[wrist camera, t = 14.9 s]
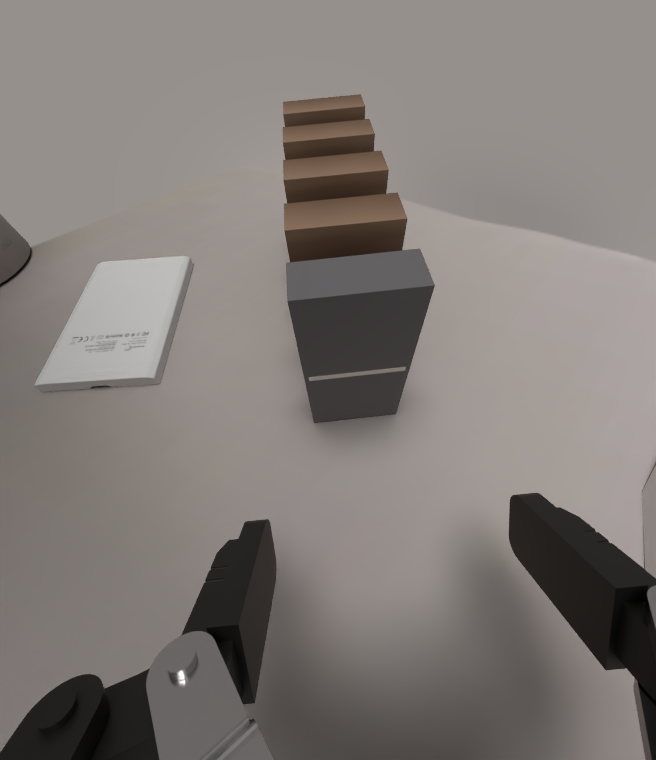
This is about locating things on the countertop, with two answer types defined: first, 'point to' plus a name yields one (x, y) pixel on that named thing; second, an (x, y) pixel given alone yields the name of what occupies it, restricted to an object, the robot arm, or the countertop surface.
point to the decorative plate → (650, 523)
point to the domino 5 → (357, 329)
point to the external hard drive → (120, 326)
